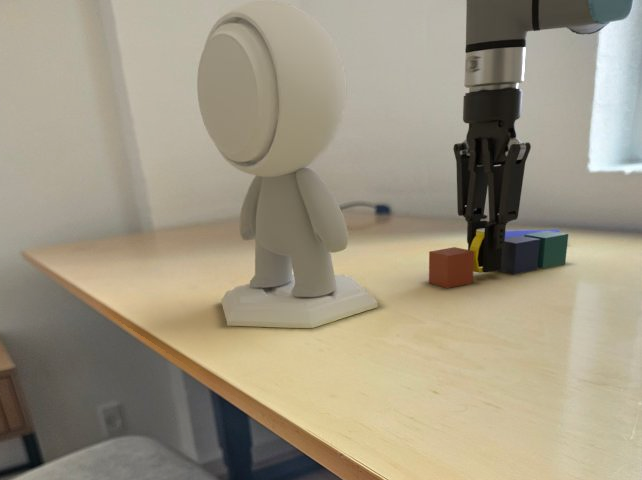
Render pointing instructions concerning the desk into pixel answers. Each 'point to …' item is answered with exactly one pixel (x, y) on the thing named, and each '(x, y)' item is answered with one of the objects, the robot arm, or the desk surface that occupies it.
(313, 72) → the white toy figurine
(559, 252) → the block teal
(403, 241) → the desk surface
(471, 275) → the block terracotta
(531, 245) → the block navy
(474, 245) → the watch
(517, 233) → the hard drive
